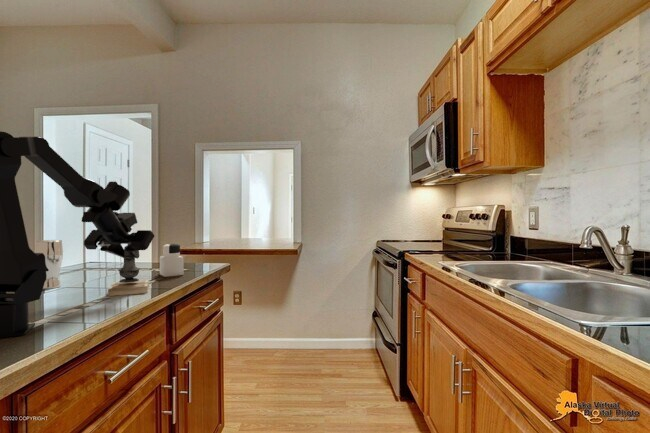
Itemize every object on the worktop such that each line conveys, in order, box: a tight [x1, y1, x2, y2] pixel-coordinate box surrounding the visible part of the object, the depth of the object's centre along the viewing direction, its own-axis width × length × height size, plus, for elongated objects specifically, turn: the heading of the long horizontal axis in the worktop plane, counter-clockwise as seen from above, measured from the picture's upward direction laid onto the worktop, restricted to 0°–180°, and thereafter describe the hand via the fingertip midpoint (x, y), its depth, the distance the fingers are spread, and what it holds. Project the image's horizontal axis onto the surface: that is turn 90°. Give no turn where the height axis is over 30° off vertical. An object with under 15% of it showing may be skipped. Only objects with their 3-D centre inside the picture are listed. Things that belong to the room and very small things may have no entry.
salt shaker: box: [118, 244, 141, 283], centre depth 103 cm, size 6×6×12 cm
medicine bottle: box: [159, 243, 185, 278], centre depth 131 cm, size 7×7×12 cm
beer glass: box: [34, 239, 64, 290], centre depth 107 cm, size 7×7×15 cm
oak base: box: [107, 279, 150, 297], centre depth 103 cm, size 10×10×2 cm
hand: (132, 257), depth 104 cm, fingers closed on salt shaker, 3 cm apart
